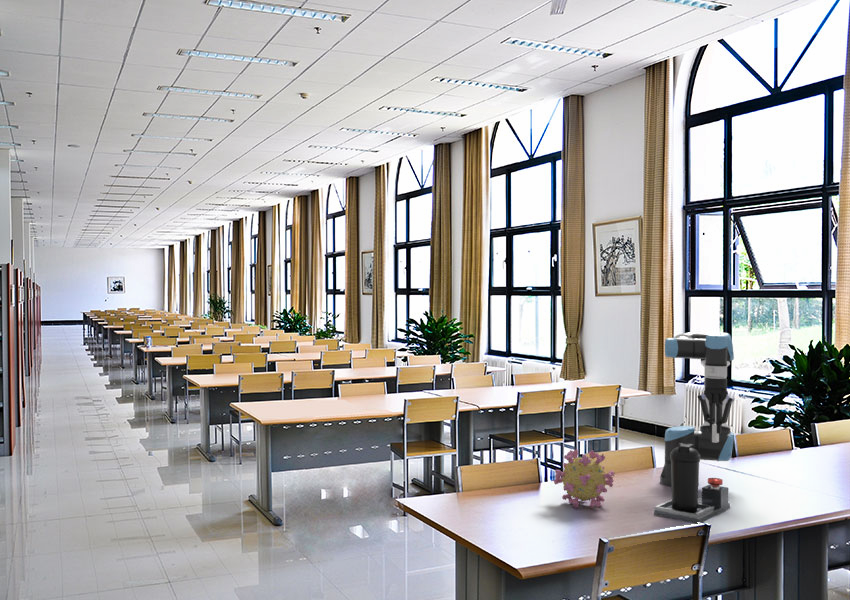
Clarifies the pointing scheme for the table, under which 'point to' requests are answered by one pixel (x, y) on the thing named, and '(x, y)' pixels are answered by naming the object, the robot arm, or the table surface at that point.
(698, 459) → the water bottle
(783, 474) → the table surface
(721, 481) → the pin
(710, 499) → the press
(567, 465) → the educational model
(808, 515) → the table surface
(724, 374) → the robot arm
